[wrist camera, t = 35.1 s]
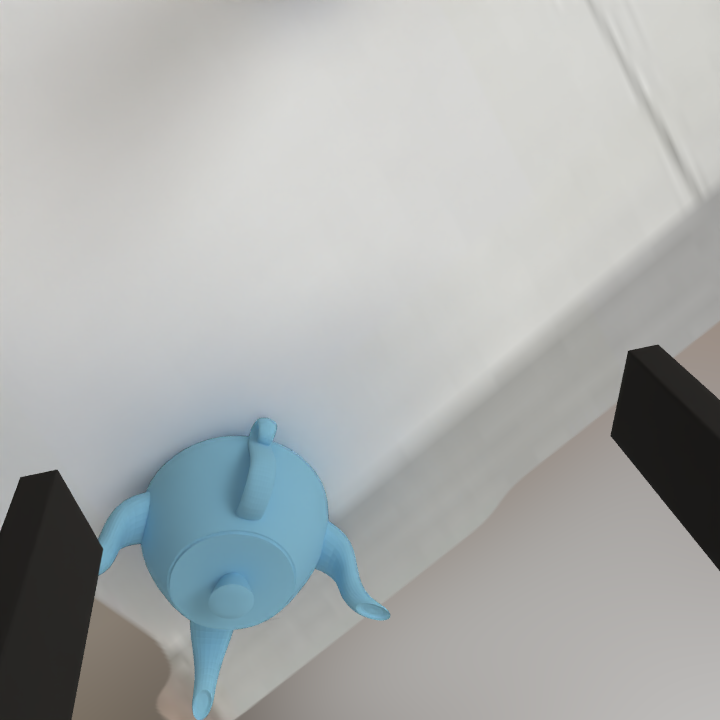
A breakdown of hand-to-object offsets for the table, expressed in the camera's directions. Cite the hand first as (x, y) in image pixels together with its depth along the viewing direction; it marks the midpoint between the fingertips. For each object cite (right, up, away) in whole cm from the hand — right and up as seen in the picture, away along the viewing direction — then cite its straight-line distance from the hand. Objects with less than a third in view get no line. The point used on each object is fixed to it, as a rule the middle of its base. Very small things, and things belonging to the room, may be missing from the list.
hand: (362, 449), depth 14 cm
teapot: (-10, -9, +31) cm, 33 cm away
